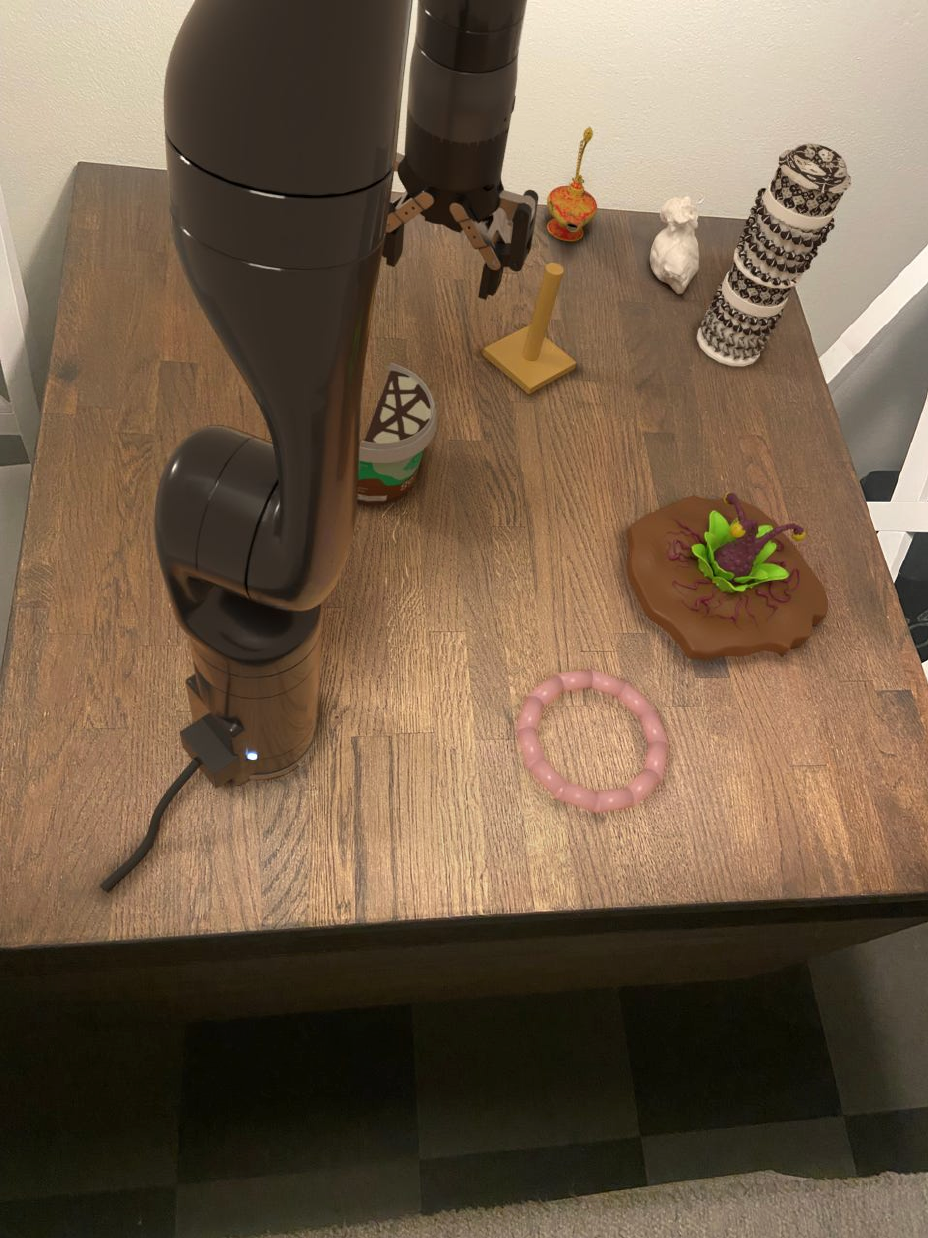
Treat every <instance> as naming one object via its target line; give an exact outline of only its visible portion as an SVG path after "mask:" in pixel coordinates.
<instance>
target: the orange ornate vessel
mask: <svg viewBox="0 0 928 1238" xmlns="http://www.w3.org/2000/svg"><path fill="white" fill-rule="evenodd" d="M582 134H583V135H582V136H583V139H581V140H580V141H579V146H578V147H579V148H578V155H577V162H576V168H575V169H576V170H575V176H574V177H572V178H571V181H572V182H571V183H569V184H568V185H560V186H557V187H555V188H553V189H552V190H551V191H550V192H549V193H548V195H547V198H546V206H547V209H548V211H549V213H550V214H551V216H552V219H550V220H549V221H548V223H547V224H546V229H547V231H548V233H549V234H550V235H551V236H553V237H554V238H555V239H558V240H561V241H563V242H577V241H579V240H580V239H582V238H583V236H584V230H583V227H584V226H585V225H586V224H588V223H590V222H591V221H592V220H593V219H594V218H595V216H596V214H597V212H598V203H597V201H596V199H595V197H594V196H593V195H592V194H591V193H590V192H588V191H586V190H585V187H584V186H583V184H584V183H585V179H583V176H582V174H580V169H581V165H582V160H583V156H584V153H585V150H586V147H587V145H588V143H589V142H590V141H591V140H592V138H593V137H594V130H593V129H592V127H591V126H588V127H587V128H586V129H584V131H583V133H582Z"/></svg>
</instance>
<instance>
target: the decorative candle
mask: <svg viewBox="0 0 928 1238" xmlns="http://www.w3.org/2000/svg"><path fill="white" fill-rule="evenodd" d="M778 165H779V166H778V167H777V169H776V170H775V173H774V176H773V178H772V180H771V181H769V182H768V184H767V186H766V187H761V188H759V189H758V190H757V194H756V195H757V196H756V197H755V198H754V203H755V205H753V206H752V207H751V208H750V211H749V212H750V214H749V216H748V218H747V219H746V220H745V225H744V226H743V229H742V230H743V234H741V235H739V237H738V239H739V242H738V243H737V244H736V248H735V249H734V254H733V262H732V266H731V269H730V270H729V271H728V272H726V275H725V276H724V279H723V281H722V282H720V283H719V284H718V286H717V289H716V291H715V294H714V295H713V299H712V300H711V303H710V305H708V307H707V309H706V312H705V315H704V317H703V318H702V321H701V323H700V327H699V328H697V329H698V330H697V335H696V340H697V343H698V346H699V347H700V349H701V350H702V351H703V352H704V353H705V354H706V355H707V356H708V357H710V358H711V359H713V360H714V361H716V362H718V363H720V364H724V365H726V366H729V367H746V366H748V365H749V366H750V365H753V364H754V363H755V362H756V361H757V360H758V359H759V358H760V356H761V351H764V350H765V347H764V346H765V344H766V343H767V342H768V341H770V339H771V338H770V336H769V335H771V334H772V332H773V331H772V330H774V329H776V327H777V323H778V320H780V319H781V318H782V317H783V312H784V307H785V306H786V304H787V302H788V300H789V294H790V293H791V291H792V289H793V288H794V287H796V286H797V285H798V284H799V283H800V282H801V281H802V279H803V277H804V276H803V275H804V273H805V272H806V271H808V270H810V268H811V264H812V261H813V259H815V258H816V257H817V256H818V255H819V252H818V250H819V247H821V246H822V245H823V244H825V243H826V242H827V240H828V234H829V233H830V232H831V231H832V230H834V229H835V227H836V225H835V217H834V215H835V214H836V212H837V207H838V204H839V203H840V201H841V199H842V197H843V195H844V193H845V192H846V191H847V190H848V189H849V188H850V187H851V185H852V177H851V175H850V174H849V172H848V167H847V163H846V161H845V160H844V158H843V156H841V155H840V154H839V153H838V152H837V151H835V150H834V149H831V148H829V147H828V146H825V145H822V144H818V143H804V144H799V145H797V146H796V147H795V148H793V149H788V150H784V152H782V153H781V154H780V155H779V156H778Z"/></svg>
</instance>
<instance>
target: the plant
mask: <svg viewBox="0 0 928 1238" xmlns="http://www.w3.org/2000/svg"><path fill="white" fill-rule="evenodd" d="M789 530H792V532H791V536H792V539H793V540H794V541H795V542H801V541H804V539H805V538H806V530H805V528H803V526H801V525H798V524H796V523H786V524H783V525H779V523H778V522H777V521H776V520H775V519H774V518H771V517H769V516H768V515H767V514H765V512H763V511H762V510H761V509H760V508H758V507H757V506H756V505H753V504H751V503H749V502H746V501H744V500H742V499H740V498H739V497H738V495H737V494H736V493H735V492H731V491H728V492H726V493H725V494H724V495H723V497H722V498H719V499H711V498H704V497H700V496H698V495H690V496H686V497H683V498H682V499H680V500H678V501H675V502H674V503H670V504H669V505H666V506H664V507H661V508H659V509H657V510H655V511H652V512H649V513H648V514H646V515H643V517H640V518H639V519H638V520H636V521H634V522H633V523H632V524H631V525H630V526H629V528H628V531H627V532H626V543H627V551H628V554H627V555H628V556H627V561H626V574H627V578H628V581H629V584H630V586H631V589H632V590H633V591H634V594H635V596H636V598H637V601H639V604H640V607H641V608H642V611H643V612H644V614H645V616H646V617H647V618H648V619H649V620H650V621H651V622H652V623H655V624H656V625H658V626H659V627H661V628H662V629H663V630H664V631H665V632H667V633H668V635H669V636H670V637H671V638H672V639H673V640H674V642H675V643H676V644H677V645H678V646H679V647H680V649H681V651H682V652H683V654H684V655H685V657H686V658H687V659H692V660H701V661H702V660H703V661H712V660H715V659H718V658H722V657H723V658H724V657H735V658H739V657H740V658H741V657H745V656H749V655H752V654H757V653H760V652H773V653H777V654H778V656H780V657H782V658H783V657H784V655H785V654H787V652H788V651H789V650H790V649H793V648H794V649H795V648H800V647H802V646H803V645H804V644H805V643H806V642H807V641H808V640H809V638H811V636H812V635H813V626H817V625H819V624H820V623H822V621H823V620H824V619H825V618H826V617H827V616H828V607H829V599H828V595H827V591H826V588H825V586H824V584H823V583H822V582H821V580H820V579H819V577H818V576H817V575H816V573H815V572H814V571H813V570H812V568H811V567H810V566H809V563H808V562H807V561H806V560H805V558H804V557H803V555H802V554H801V552H800V550H799V549H798V548H797V547H796V545H794V543H793V542H792V541H791V539H789V537H788V536H786V534H785V533H784V532H786V531H789Z"/></svg>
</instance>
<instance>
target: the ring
mask: <svg viewBox="0 0 928 1238" xmlns="http://www.w3.org/2000/svg"><path fill="white" fill-rule="evenodd" d="M586 689H593V690H595V691H598V692H601V693H603V694H607V695H609V696H613V697H615V698H618V699H619V700H620V701H621V702H622V704H624V705H625V706H626V707H627V708H628V709H629V710H630V711H631V712H632V713H633V714H634V715H635V716H636V717H637V718H638V719H639V722H640V724H641V728H642V730H643V733H644V736H645V739H646V741H647V745H648V746H647V750H646V755H645V760H644V764H643V769H642V770H641V771H640V772H639V774H637V775H636V776H635V777H634V778H633V779H632V780H631V781H630V782H628V783H627V784H626V785H625V786H624V787H618V788H611V789H606V790H605V789H604V790H599V791H595V790H593V789H590V788H587V787H585V786H581V785H580V784H576V783H573V782H571V781H568V780H566V779H565V778H564V777H563V775H562V774H560V772H559V771H557V769H555V767H553V765H552V764H551V763H550V762H549V761H548V760H547V759H546V758H545V755H544V752H543V749H542V745H541V740H540V738H539V735H538V729H539V724H540V721H541V719H542V716H543V715H542V714H543V711H544V708H545V707H546V706H548V705H549V704H550V703H551V702H552V701H554V700H555V699H556V698H557V697H559V696H560V695H561V694H562V693H564V692H569V691H570V692H571V691H577V690H578V691H579V690H586ZM520 711H521V712H520V714H519V717H518V722H517V724H516V728H515V733H516V737H517V740H518V744H519V747H520V752H521V755H522V759H523V762H524V766H525V768H526V769H527V771H528V772H529V773H530V774H531V775H532V776H533V777H534V778H535V780H537V781H538V783H540V784H541V785H542V787H544V788H545V790H547V792H548V793H549V794H550V795H551V796H552V797H553V798H554V799H556V800H558V801H561V802H563V803H567V804H569V805H571V806H574V807H578V808H581V809H583V810H585V811H588V812H591V813H595V814H599V813H605V812H611V811H612V812H613V811H618V810H619V811H620V810H624V809H630V808H635V807H636V806H638V805H639V804H640V803H641V802H643V800H645V798H646V797H647V796H648V795H650V793H651V792H652V791H654V790H655V789H656V788H657V787H658V786H659V785H660V784H661V783H662V781H663V779H664V774H665V770H666V765H667V759H668V754H669V748H670V743H669V741H668V740H669V739H668V737H667V735H666V732H665V728H664V726H663V724H662V722H661V718H660V715H659V713H658V710H657V709H656V707H655V706H654V705H653V704H651V702H650V701H649V700H648V699H646V698H645V697H644V695H642V694H641V693H640V692H639V691H638V690H637V689H636V688H635V687H634V686H633V685H632V684H631V683H630V682H628V681H626V680H623V679H621V678H618V677H615V676H612V675H610V674H607V673H605V672H604V673H603V672H602V671H598V670H595V669H592V668H591V669H590V668H589V669H581V670H580V669H579V670H573V671H565V672H564V671H563V672H556V673H554V674H552V675H551V676H549V677H548V678H547V679H545V681H543V682H542V683H541V684H540V685H538V686H536V687H535V688H534V689H532V690H531V691H530V692H529V693H528V694H527V695H526V696H525V699H524V702H523V705H522V708H521V710H520Z"/></svg>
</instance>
